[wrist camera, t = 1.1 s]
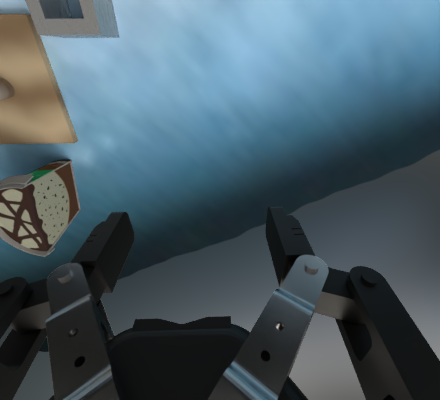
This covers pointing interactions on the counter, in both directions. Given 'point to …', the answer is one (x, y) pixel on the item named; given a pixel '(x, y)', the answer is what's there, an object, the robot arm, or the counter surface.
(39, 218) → the food container
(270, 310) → the robot arm
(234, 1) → the counter surface
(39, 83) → the block
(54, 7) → the grey square sleeve
